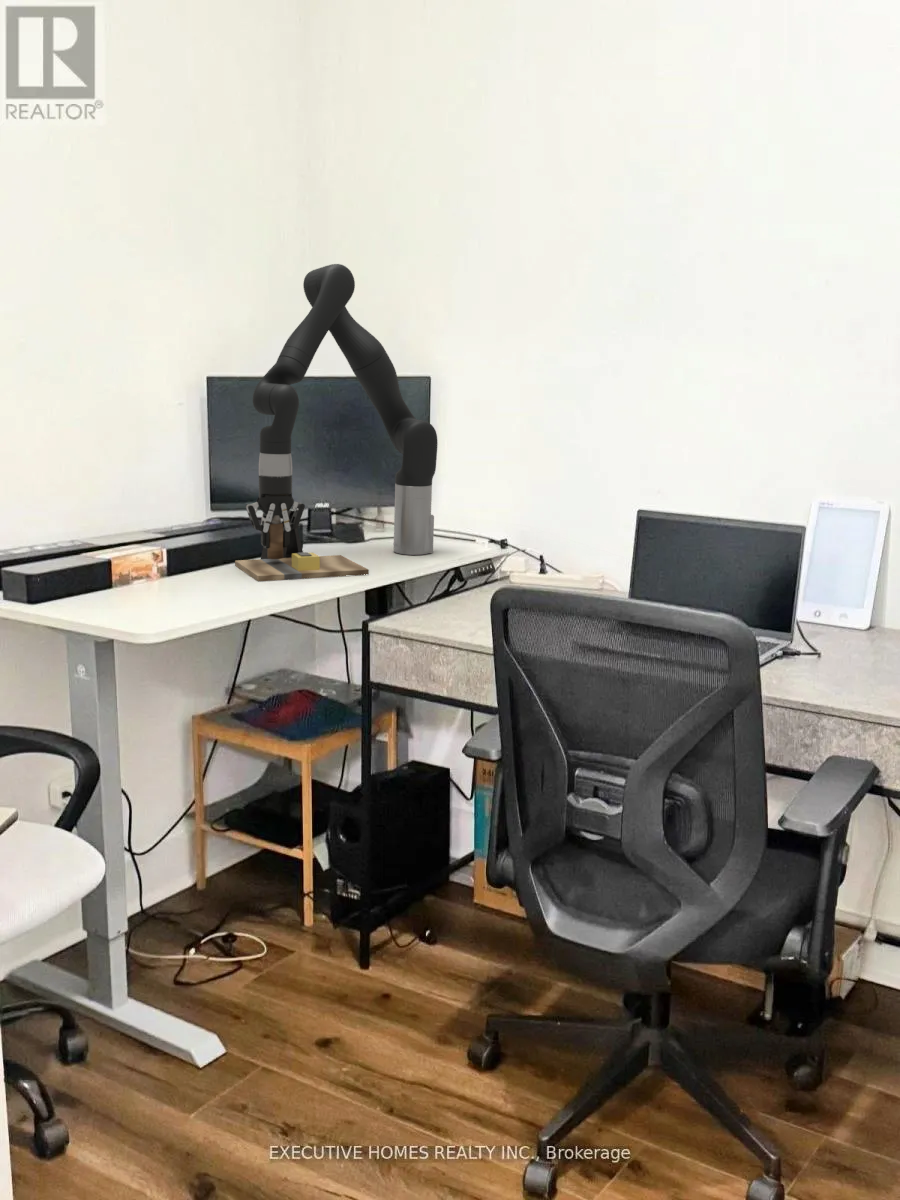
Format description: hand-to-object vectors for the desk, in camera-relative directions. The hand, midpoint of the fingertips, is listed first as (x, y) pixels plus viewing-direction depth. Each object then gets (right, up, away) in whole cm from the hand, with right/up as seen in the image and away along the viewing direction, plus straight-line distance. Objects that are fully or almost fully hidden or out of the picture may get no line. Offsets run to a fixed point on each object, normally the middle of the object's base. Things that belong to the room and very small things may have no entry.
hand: (275, 547), depth 268 cm
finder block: (+7, -5, -4) cm, 10 cm away
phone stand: (0, -2, +12) cm, 12 cm away
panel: (+6, -5, 0) cm, 8 cm away
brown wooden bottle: (0, -2, +1) cm, 2 cm away
